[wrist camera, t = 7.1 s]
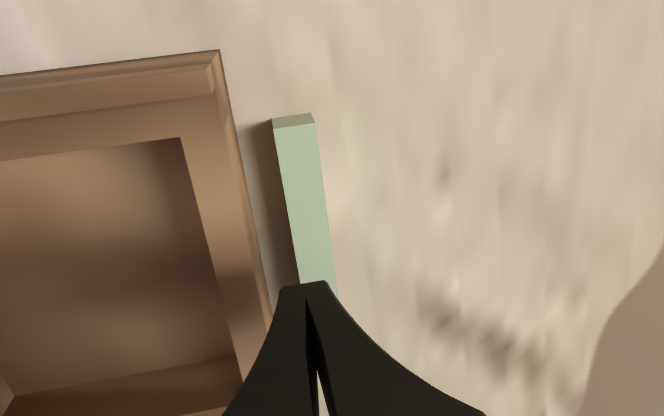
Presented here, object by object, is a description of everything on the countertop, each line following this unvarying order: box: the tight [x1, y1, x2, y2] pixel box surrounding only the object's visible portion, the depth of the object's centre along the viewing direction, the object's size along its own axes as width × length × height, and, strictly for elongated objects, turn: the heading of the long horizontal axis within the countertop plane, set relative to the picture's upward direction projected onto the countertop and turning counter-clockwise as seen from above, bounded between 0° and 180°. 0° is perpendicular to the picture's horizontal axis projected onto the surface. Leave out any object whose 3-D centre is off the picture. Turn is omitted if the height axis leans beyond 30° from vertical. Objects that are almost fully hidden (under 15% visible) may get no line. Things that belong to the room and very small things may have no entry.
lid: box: [272, 113, 339, 300], centre depth 18 cm, size 12×12×2 cm
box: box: [0, 49, 273, 416], centre depth 15 cm, size 14×12×4 cm
